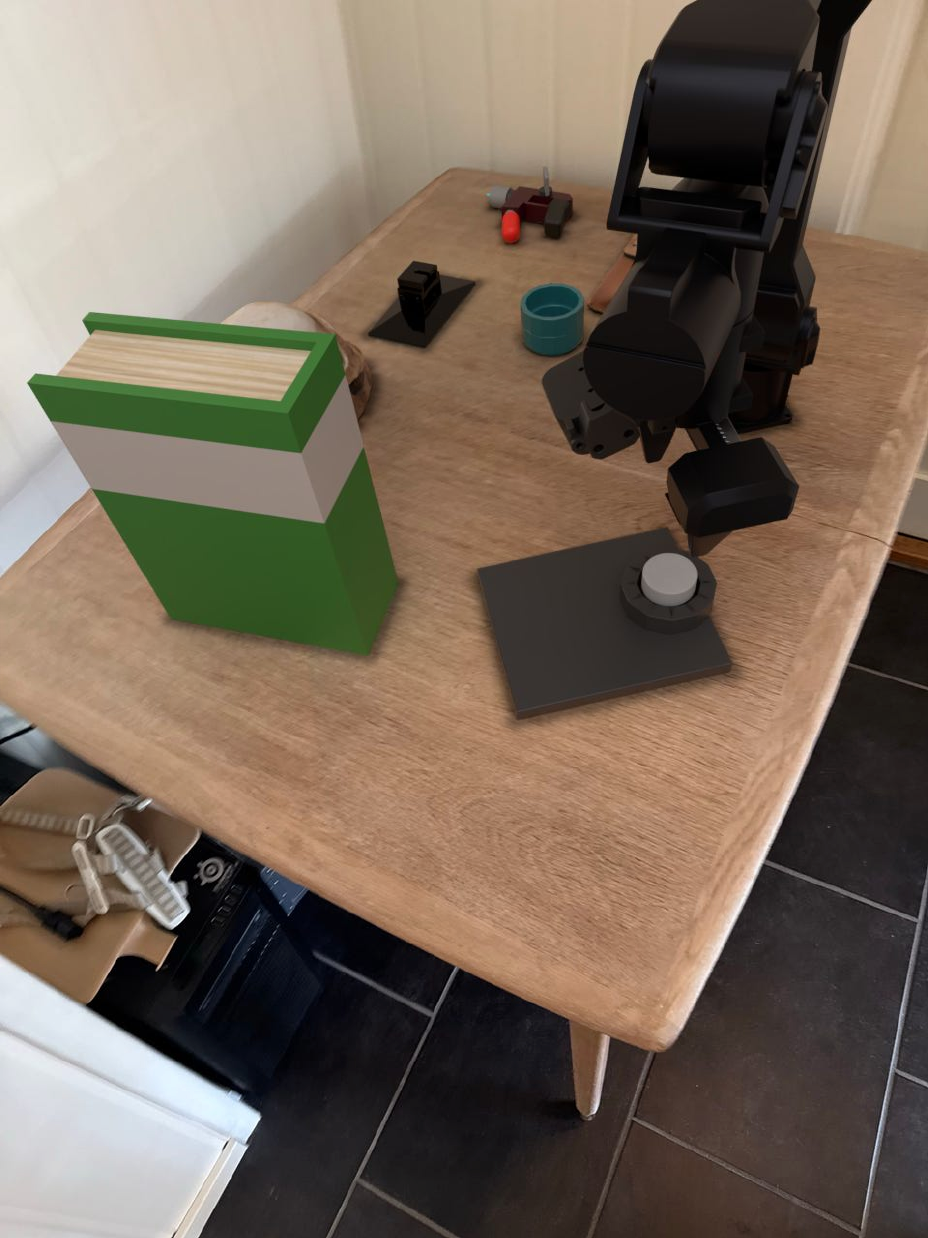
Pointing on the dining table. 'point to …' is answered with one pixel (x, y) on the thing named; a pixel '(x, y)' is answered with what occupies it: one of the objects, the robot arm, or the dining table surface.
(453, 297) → the build plate
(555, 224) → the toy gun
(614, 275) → the sunglasses case
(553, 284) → the bowl
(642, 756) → the dining table surface
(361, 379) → the coin bank
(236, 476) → the hardback book
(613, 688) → the dark grey button base
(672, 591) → the button
